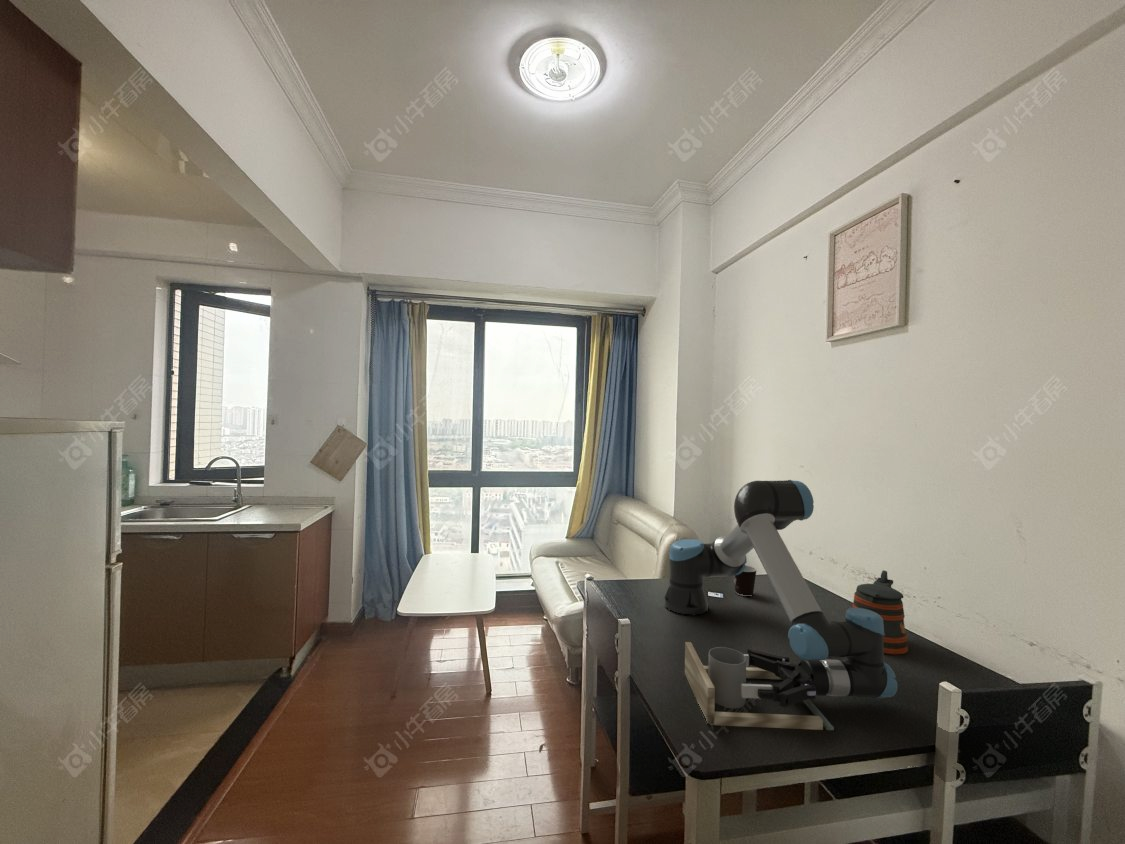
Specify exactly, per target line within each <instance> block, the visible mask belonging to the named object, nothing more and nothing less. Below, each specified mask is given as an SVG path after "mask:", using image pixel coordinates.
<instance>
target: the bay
mask: <svg viewBox="0 0 1125 844" xmlns="http://www.w3.org/2000/svg"><path fill="white" fill-rule="evenodd" d="M684 674H685V677H686V679H687V682H688V683H689V686H690V688H691V691H692V693H693V695H694V698H695V697H696V698H695V700H696V702H697V704H699V705H698V707H699V706H700V707H699V709H700V708H701V709H700V711H701V710H702V712H703V714H704V716H705V718H706V721H707V723H710V724H713V725H712V726H727V727H750V728H769V729H770V728H771V729H772V728H773V729H791V730H793V729H794V730H795V729H796V730H798V729H799V730H817V731H823V730H824V729H825V730H826V731H834V729H835V728H834V726H833V725H832V724H831V723H830V721H829V720H828V719H827V717H825V716H824V714H823V713H822V712H821V711H820V710H819V709H818V707H817V706H816V705H815V704H814V703H813V701H812V699H806V700H803V701H802V703H804V704H805V706H806V707H807V708H808V709H809V711H810V712H811V713H812V714H813V715H806V714H805V715H802V714H800V715H799V714H781V713H780V714H778V713H759V712H758V713H757V712H756V713H753V712H735V711H734V712H730V711H715V704H716V703H715V687H714V685H713V684H712V682H711V680H710V678H709V676H708V665H704V664H703V663H702V661H701V659H700V657H699V655H698V653H697V651H696V649H695V647H694V645H693V643H692V642H691V641H684ZM746 679H758V680H759V679H761V680H763V679H764V680H782V679H781V678H780V677H777V676H776V675H775V674H774V673H772V672H769V671H766V670H763V669H761V668H758V667H753V666H751V667H750V666H749V667H746ZM702 712H701V713H702ZM703 714H702V715H703ZM704 716H703V717H704ZM706 721H705V722H706ZM707 723H706V724H707Z"/></svg>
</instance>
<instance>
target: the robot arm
mask: <svg viewBox="0 0 1125 844" xmlns="http://www.w3.org/2000/svg"><path fill="white" fill-rule="evenodd" d="M814 501H815V500H814V496H813V495H812V492H811V490H810V488H809V487H808V486H807V485H806V484H805V483H804V482H803V481H799V480H792V479H788V480H753V481H750V482H747V483H746V484H744V485H743V486H742V487H741V488H740V489H739V490H738V492H737V494H736V495H735V498H734V503H733V504H734V506H733V507H734V508H733V510H734V516H735V518H734V519H735V520H736V523H737V524H736V525H735V527H733V529H731V531H729V532H728V533H727V534H726V535H724V534H723V535H721V536H719V537H717V538H716V539H715V540H714V541H713V542H711V543H704V542H703V541H701V540H699V539H695V538H692V539H689V538H685V539H683V538H682V539H680V540H676V541H674V542H672V544H671V545H670V547H669V555H668V557H669V573H668V575H669V578H668V579H669V581H668V583H669V584H668V586H667V590H666V592H665V595H664V599H663V605H665V606H666V607H667V608H668V609H670V610H672V611H674V612H673V613H675V612H677V613H676V614H678V613H682V614H681V615H683V614H701V613H704V612H706V611H707V612H708V610H709V609H708V599H707V597H706V596H707V595H706V594H705V591H704V582H703V581H704V578H715V577H717V578H718V577H734V576H735V575H738V574H740V573H742V572H743V571H744V569H745V567H746V566H747V565H746V564H747V561H748V560H747V554H749V552H751V551H752V550H753V549H754V551H755V553H756V555H757V557H758V559H759V560H760V562H761V565H762V567H763V569H764V570H765V573H766V575H767V577H768V579H769V582H770V583H771V585H772V587H773V589H774V590H775V593H776V595H777V597H778V599H779V601H780V602H781V605H782V607H783V609H784V611H785V613H786V615H787V617H788V619H789V622H790V623H791V625H792V626H791V627H790V628H789V629H788V632H787V633H788V634H787V637H788V640H789V645H790V649H792V651H793V653H794V654H795V655H796V656H797V657H798V658H800V659H801V660H800V662H799V663H798V664H793V663H791V662H790V657H788V656H779V655H775V654H771V653H766V652H762V651H758V650H754V649H746V654H745V653H742V654H743V655H744V656H745V658H746V667H750V666H751V667H754V668H761V669H763V670H766V671H769V672H772V673H774V674H775V675H776V676H777V677H780V678H781V679H780V680H782V681H781V682H779V683H778V684H774V685H772V684H758V683H746V684H741V696H742V698H746V699H761V700H773V701H774V702H778V703H779V705H780V707H783V708H785V707H788V706H791V705H794V704H797V703H800V702H803V700H806V699H810V700H816V699H817V697H818V696H822V697H825V696H829V697H831V696H832V697H834V698H835V697H852V698H871V699H885V698H893V697H894V696H895V695H896V693H897V692H898V681H897V680H896V677H897V676H896V674H895V672H894V670H893V668H892V667H891V666H890V665H889V664H888V663H886V662H885V659H884V658H885V657H884V655H885V653H884V636H885V634H884V625H883V619H882V617H881V616H880V615H879V614H877V613H875V612H873V611H871V610H867V609H863V608H853V607H849V608H848V609H846V610H845V616H844V618H845V619H841V620H834V621H833V620H832V621H831V620H830V621H828V620H827V617H826V616H825V614H824V613H823V611H822V609H821V607H820V606H819V604H818V602H817V600H816V598H815V597H814V595H813V593H812V591H811V589H810V587H809V585H808V584H807V582H806V580H805V578H804V577H803V575H802V573H801V571H800V569H799V567H798V565H797V564H796V561H795V560H794V558H793V557H792V555H791V552H790V551H789V549H788V548H787V545H786V544H785V542H784V540H783V538H782V536H781V535H780V533H779V531H782V530H784V529H786V528H787V527H789V526H790V525H791V524H792V523H793V522H794V521H804V520H805V521H806V520H808V519H809V518H810V517H811V516H812V515H813V513H814V509H815V508H814V507H815V506H814ZM665 606H664V607H665ZM666 607H665V608H666ZM667 608H666V609H667ZM668 609H667V610H668ZM670 610H669V611H670ZM672 611H671V612H672ZM707 612H706V613H707ZM704 614H705V613H704ZM701 615H702V614H701ZM835 658H836V659H835ZM837 658H845V659H837Z"/></svg>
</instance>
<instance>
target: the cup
mask: <svg viewBox="0 0 1125 844" xmlns="http://www.w3.org/2000/svg"><path fill="white" fill-rule="evenodd" d="M743 654H744V653H742V652H741V651H739V650H736V649H733V648H731V647H730V648H729V647H725V646H717V647H714V648H710V649H709V651H708V664H707V666H708V676H709V678H710V680H711V682H712V684H713V685H714V687H715V702H717V703H718V704H720V705H723V706H724V707H723V708H726V707H727V708H728V709H731V710H732V709H740V708H742V707H745V705H746V701H747V698H742V696H741V684H747V678H746V658H745V656H744V655H743ZM718 704H717V705H718ZM720 705H719V706H720Z"/></svg>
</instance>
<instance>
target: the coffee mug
mask: <svg viewBox="0 0 1125 844" xmlns="http://www.w3.org/2000/svg"><path fill="white" fill-rule="evenodd" d="M756 575H757V569H756V568H755V567H753V566H751V565H746V567H745V569H744V571H743V572H742V573H740V574H738V575H735V576H733V584H734V591H736V592H737V593H739V594H743V595H753V596H754V590H755V583H756V578H757V577H756Z"/></svg>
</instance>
